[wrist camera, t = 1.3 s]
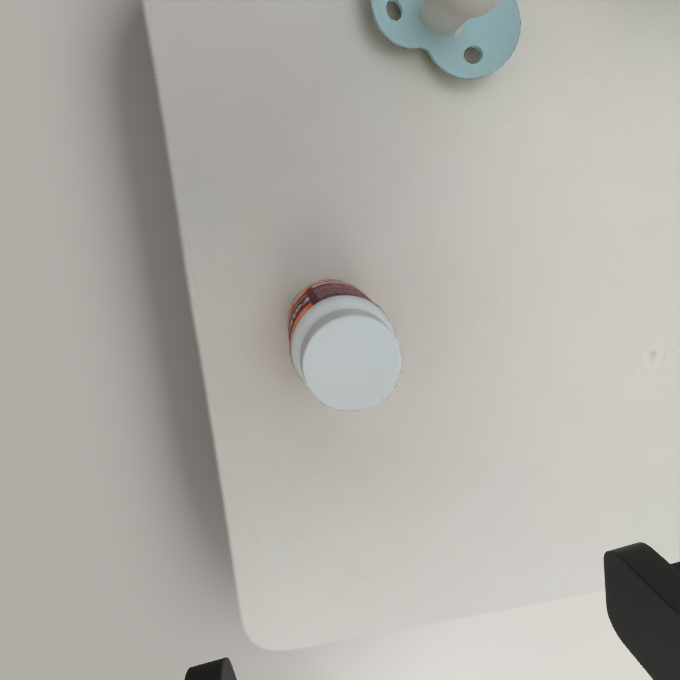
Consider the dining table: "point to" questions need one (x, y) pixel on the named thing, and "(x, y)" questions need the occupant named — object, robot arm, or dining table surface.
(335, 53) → the dining table surface
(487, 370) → the dining table surface
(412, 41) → the pacifier
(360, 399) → the pill bottle
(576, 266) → the dining table surface
